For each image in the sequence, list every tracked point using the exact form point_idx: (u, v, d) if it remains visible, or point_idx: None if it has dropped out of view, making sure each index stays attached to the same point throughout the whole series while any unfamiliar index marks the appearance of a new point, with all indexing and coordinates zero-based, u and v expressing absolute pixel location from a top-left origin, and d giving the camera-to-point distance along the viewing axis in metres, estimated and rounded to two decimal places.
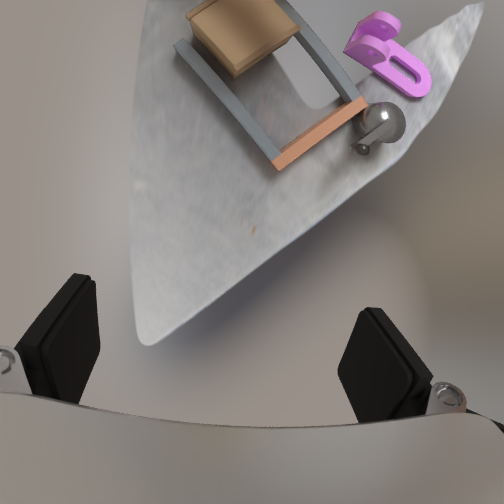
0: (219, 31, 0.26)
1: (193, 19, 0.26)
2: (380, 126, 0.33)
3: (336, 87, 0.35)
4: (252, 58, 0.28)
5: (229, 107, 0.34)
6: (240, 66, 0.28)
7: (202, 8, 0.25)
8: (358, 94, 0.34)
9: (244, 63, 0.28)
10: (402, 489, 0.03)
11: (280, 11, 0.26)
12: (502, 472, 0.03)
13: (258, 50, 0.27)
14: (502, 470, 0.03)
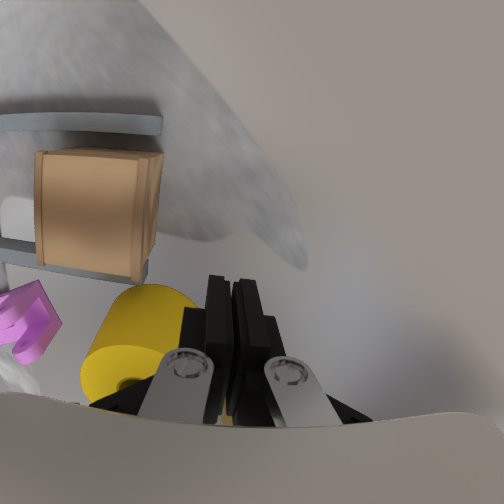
0: (91, 175, 0.19)
1: (134, 162, 0.19)
2: None
3: (6, 240, 0.25)
4: (35, 181, 0.18)
5: (43, 114, 0.20)
6: (36, 160, 0.17)
7: (138, 186, 0.19)
8: None
9: (36, 167, 0.18)
10: (402, 489, 0.03)
11: (69, 263, 0.21)
12: (502, 472, 0.03)
13: (39, 196, 0.18)
14: (502, 470, 0.03)
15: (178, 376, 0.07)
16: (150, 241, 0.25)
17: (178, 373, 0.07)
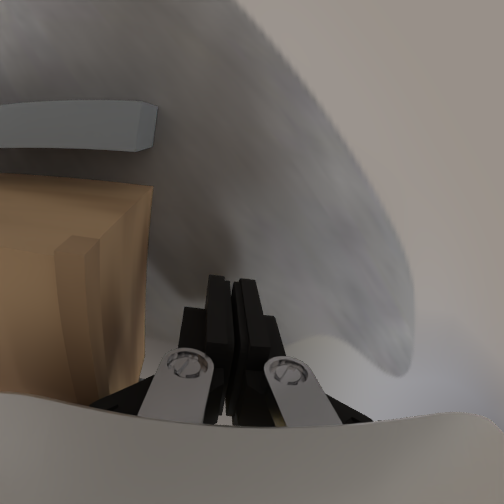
0: None
1: (45, 260, 0.05)
2: None
3: None
4: None
5: None
6: None
7: (68, 335, 0.05)
8: None
9: None
10: (402, 489, 0.03)
11: None
12: (502, 472, 0.03)
13: None
14: (502, 470, 0.03)
15: (178, 376, 0.07)
16: (134, 374, 0.12)
17: (178, 373, 0.07)
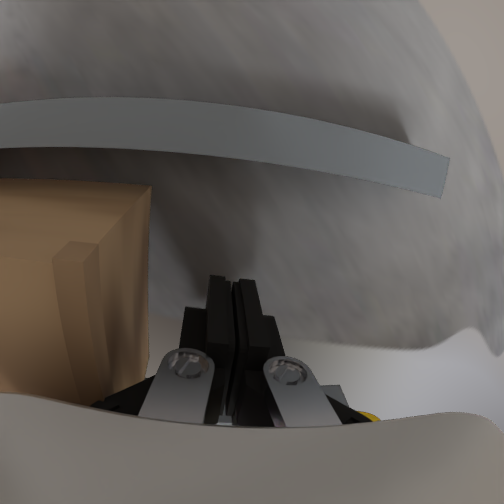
0: None
1: (44, 268, 0.05)
2: None
3: None
4: None
5: (141, 102, 0.08)
6: None
7: (70, 343, 0.05)
8: None
9: None
10: (402, 489, 0.03)
11: None
12: (502, 472, 0.03)
13: None
14: (502, 470, 0.03)
15: (179, 376, 0.07)
16: (139, 376, 0.12)
17: (179, 373, 0.07)
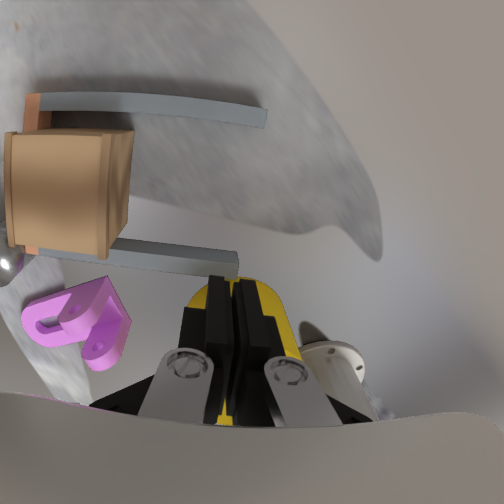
0: (57, 153, 0.17)
1: (98, 138, 0.17)
2: None
3: None
4: (5, 162, 0.16)
5: (130, 94, 0.20)
6: (6, 141, 0.16)
7: (101, 162, 0.18)
8: (41, 252, 0.24)
9: (6, 148, 0.16)
10: (402, 489, 0.03)
11: (39, 243, 0.19)
12: (502, 472, 0.03)
13: (9, 177, 0.17)
14: (502, 470, 0.03)
15: (178, 376, 0.07)
16: (120, 219, 0.24)
17: (178, 373, 0.07)
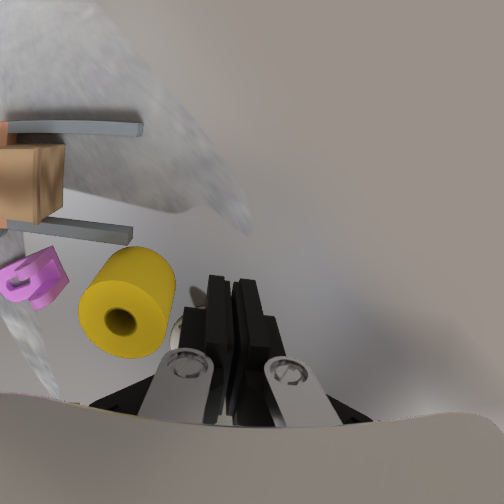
0: (11, 160, 0.26)
1: (32, 150, 0.26)
2: None
3: None
4: None
5: (57, 121, 0.29)
6: None
7: (34, 164, 0.27)
8: (8, 227, 0.33)
9: None
10: (402, 489, 0.03)
11: (2, 215, 0.28)
12: (502, 472, 0.03)
13: None
14: (502, 470, 0.03)
15: (178, 376, 0.07)
16: (54, 203, 0.33)
17: (178, 373, 0.07)
